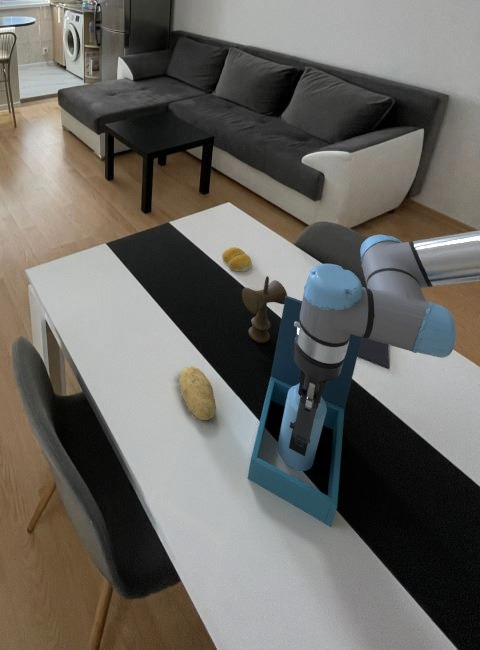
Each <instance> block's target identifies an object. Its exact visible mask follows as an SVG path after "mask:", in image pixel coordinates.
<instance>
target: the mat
mask: <svg viewBox="0 0 480 650" xmlns="http://www.w3.org/2000/svg"><path fill="white" fill-rule="evenodd" d="M389 346H390V345H388V344H385V343H381V342H378V341H374V340H371V339H367V338H364V337H362V339H361V343H360V348H359V352H358V356H357V358H359V359H362V360H365V361H367V362H370V363H373V364H375V365H378V366H381V367H383V368H385V369H387V370H388V369H390V353H389V352H390V351H389V349H390V347H389Z"/></svg>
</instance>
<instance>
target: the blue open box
mask: <svg viewBox="0 0 480 650" xmlns="http://www.w3.org/2000/svg"><path fill="white" fill-rule="evenodd" d="M291 387H293V385H290V384H288V383H286V382H284V381H281V380H279V379H277V378H275V377H273V376H270V379H269V382H268V387H267V391H266V394H265V399H264V403H263V407H262V411H261V416H260V419H259V423H258V427H257V432H256V436H255V440H254V443H253V448H252V452H251V456H250V462H249V467H248V474H247V479H248V480H249V481H250V482H253V483H254V484H256V485H258V486H259V487H261V488H263V489H264V490H267V491H268V492H270V493H272V494H273V495H275V496H277V497H278V498H280V499H282V500H284V501H285V502H287V503H289V504H290V505H293V506H294V507H295V508H297V509H299V510H300V511H302V512H304V513H306V514H307V515H309V516H311V517H313V518H315V519H316V520H318V521H320V522H322V523H323V524H325V525H326V526H328V527H330V528H331V527H332V526H333V522H334V518H335V516H336V511H337V509H338V504H339V503H338V502H339V501H338V500H339V486H340V473H341V459H342V449H343V447H342V446H343V433H344V432H343V431H344V421H345V409H344V408H341V407H339V406H337V405H335V404H333V403H330V402H328V401H326V400H324V399H323V400H324V402H325V404H326V408H327V411H326V415H325V419H324V423H323V427H326V428H328V429H330V430H332V432H333V433H332V434H333V435H332V444H331V454H330V463H329V464H330V465H329V477H328V486H327V487H328V488H327V494H325V493H323V492H321V491H320V490H318V489H316V488H314V487H313V486H311V485H309V484H307V483H305V482H304V481H302V480H300V479H297V478H296V477H294V476H293V475H291V474H289V473H287V472H285V471H283V470H282V469H279V468H278V467H276V466H274V465H272V464H271V463H269V462H267V461H265V460H263V459H262V458H259V456H260V450H261V447H262V442H263V438H264V433H265V430H266V429H265V428H266V425H267V420H268V416H269V412H270V408H271V403H272V402H273V403H276V404H278V405H280V406H282V407H284V408H285V405H286V400H287V395H288V391H289V389H290V388H291Z"/></svg>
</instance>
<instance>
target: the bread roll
mask: <svg viewBox="0 0 480 650" xmlns="http://www.w3.org/2000/svg"><path fill="white" fill-rule="evenodd" d="M221 258H222V261H223V262H224V264H226V265H227V267H228V268H229V269H231V271H234V272H247V271H248V270H250V268H252V264H253V263H252V262H253V261H252V259H251V257H250V256H249V255H248V254H247V253H246V252H245V251H244V250H243V249H241V248H240V247H229V248H228V249H225V250H223V252H222V255H221Z"/></svg>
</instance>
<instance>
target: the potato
mask: <svg viewBox="0 0 480 650" xmlns="http://www.w3.org/2000/svg"><path fill="white" fill-rule="evenodd" d="M179 389H180V393H181V396H182V397H183V400H184V402H185V405H186V407H187V408H188V410H189V411H190V412H191V413H192V414H193V416H194V417H196V418H198V419H199V420H201V421H209V420H210V419H212V418H213V417H215V414H216V411H217V405H216V399H215V395H214V391H213V386H212V384H211V381H210V380H209V378H207V375H205V373H204V372H203V371H202V370H201V369H199V368H198V367H196V366H192V365H191V366H187V367H184V368H183V369H182V371H181V372H180V375H179Z"/></svg>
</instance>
